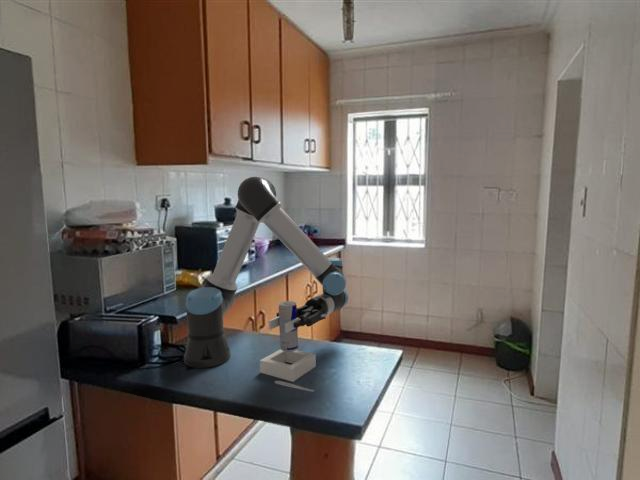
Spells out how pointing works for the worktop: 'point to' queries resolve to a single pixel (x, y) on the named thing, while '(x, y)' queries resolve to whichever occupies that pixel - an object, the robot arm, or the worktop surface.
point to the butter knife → (292, 385)
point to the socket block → (279, 369)
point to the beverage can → (285, 314)
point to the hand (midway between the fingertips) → (277, 326)
